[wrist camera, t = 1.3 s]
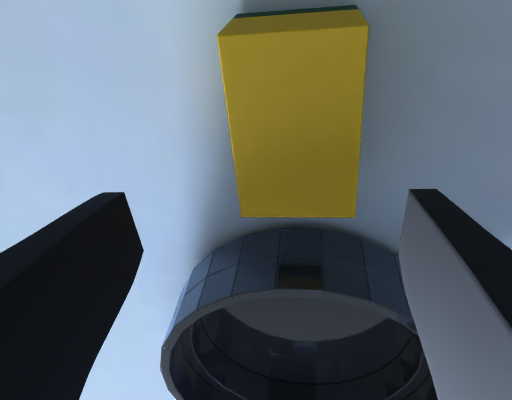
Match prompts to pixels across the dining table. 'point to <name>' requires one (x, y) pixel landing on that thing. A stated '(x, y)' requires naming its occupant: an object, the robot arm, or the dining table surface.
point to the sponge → (296, 109)
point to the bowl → (296, 323)
